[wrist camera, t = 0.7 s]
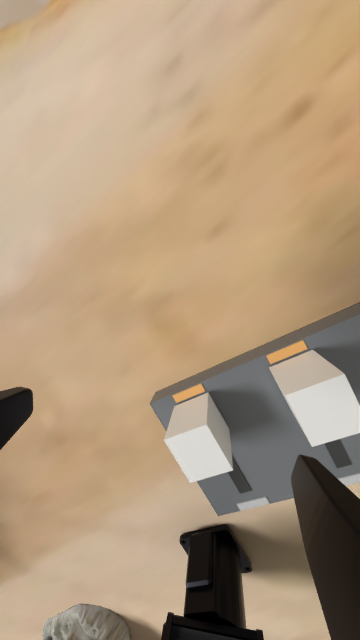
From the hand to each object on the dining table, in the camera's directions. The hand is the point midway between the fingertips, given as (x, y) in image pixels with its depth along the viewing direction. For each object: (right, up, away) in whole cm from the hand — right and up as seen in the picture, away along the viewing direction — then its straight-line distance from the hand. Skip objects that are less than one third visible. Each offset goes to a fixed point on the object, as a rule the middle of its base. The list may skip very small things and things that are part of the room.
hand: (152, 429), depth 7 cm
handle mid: (+11, -1, +10) cm, 14 cm away
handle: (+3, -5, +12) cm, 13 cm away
